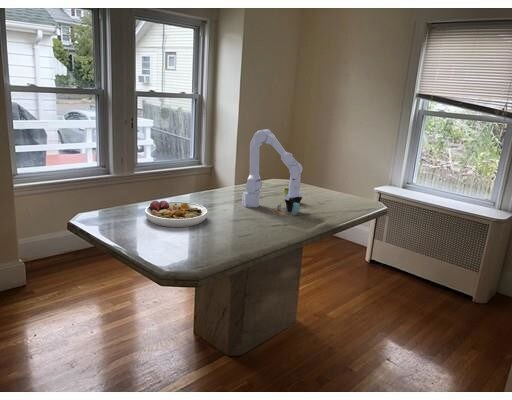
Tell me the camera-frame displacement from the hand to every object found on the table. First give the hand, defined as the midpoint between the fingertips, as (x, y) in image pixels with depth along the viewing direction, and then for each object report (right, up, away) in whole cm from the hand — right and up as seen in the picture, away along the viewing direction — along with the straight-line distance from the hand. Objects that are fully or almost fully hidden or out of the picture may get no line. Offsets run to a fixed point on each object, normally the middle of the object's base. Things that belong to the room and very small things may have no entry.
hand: (292, 210), depth 230 cm
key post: (-8, 0, +2) cm, 8 cm away
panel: (-4, -2, +1) cm, 4 cm away
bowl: (-59, -4, -20) cm, 63 cm away
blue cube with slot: (0, -1, 0) cm, 1 cm away
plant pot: (0, +3, +21) cm, 21 cm away
